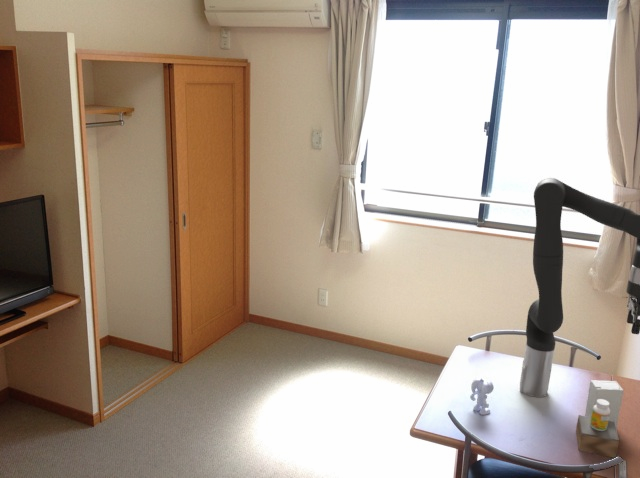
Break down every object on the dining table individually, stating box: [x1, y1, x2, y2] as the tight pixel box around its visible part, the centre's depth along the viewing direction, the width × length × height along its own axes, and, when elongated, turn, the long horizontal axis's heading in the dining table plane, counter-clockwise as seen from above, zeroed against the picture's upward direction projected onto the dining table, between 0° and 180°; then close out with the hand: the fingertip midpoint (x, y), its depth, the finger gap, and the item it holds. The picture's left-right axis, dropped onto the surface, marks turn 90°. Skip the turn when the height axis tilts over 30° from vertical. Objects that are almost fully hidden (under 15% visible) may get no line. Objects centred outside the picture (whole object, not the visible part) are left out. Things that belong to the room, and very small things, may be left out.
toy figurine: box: [470, 378, 494, 416], centre depth 193 cm, size 7×6×12 cm
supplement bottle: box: [590, 399, 610, 431], centre depth 176 cm, size 5×5×8 cm
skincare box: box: [584, 379, 624, 430], centre depth 187 cm, size 8×6×15 cm
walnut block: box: [575, 414, 620, 459], centre depth 178 cm, size 10×10×6 cm
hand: (632, 328), depth 189 cm, fingers open, 8 cm apart
